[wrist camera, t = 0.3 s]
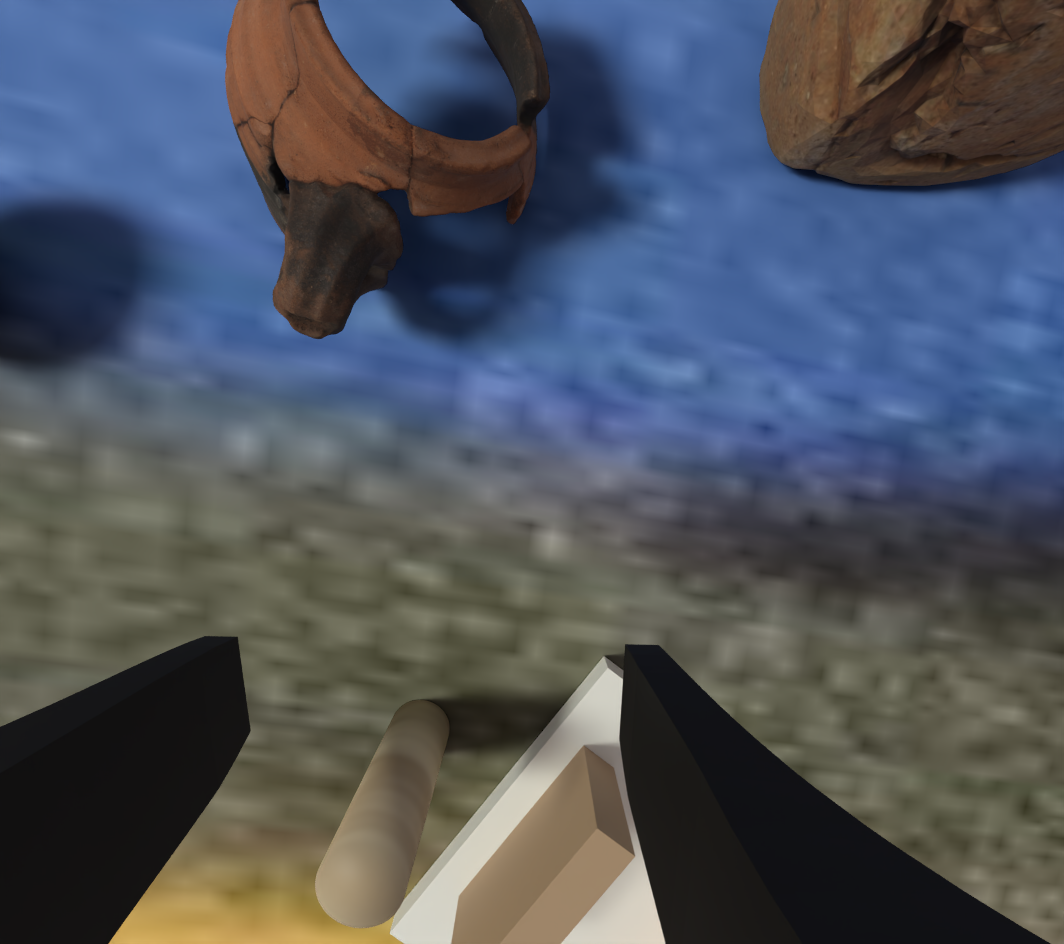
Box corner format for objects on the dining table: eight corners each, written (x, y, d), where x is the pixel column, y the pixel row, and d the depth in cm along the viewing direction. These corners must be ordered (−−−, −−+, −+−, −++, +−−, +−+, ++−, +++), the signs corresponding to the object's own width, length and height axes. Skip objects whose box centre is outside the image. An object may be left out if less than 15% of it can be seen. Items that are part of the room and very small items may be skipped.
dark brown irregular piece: (268, 40, 18) (275, -266, 11) (494, 168, 23) (602, 7, 16) (178, 335, 16) (114, 192, 9) (445, 414, 21) (545, 359, 13)
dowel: (426, 767, 20) (369, 944, 13) (379, 732, 20) (297, 893, 13) (461, 723, 20) (423, 879, 13) (414, 688, 20) (350, 827, 13)
